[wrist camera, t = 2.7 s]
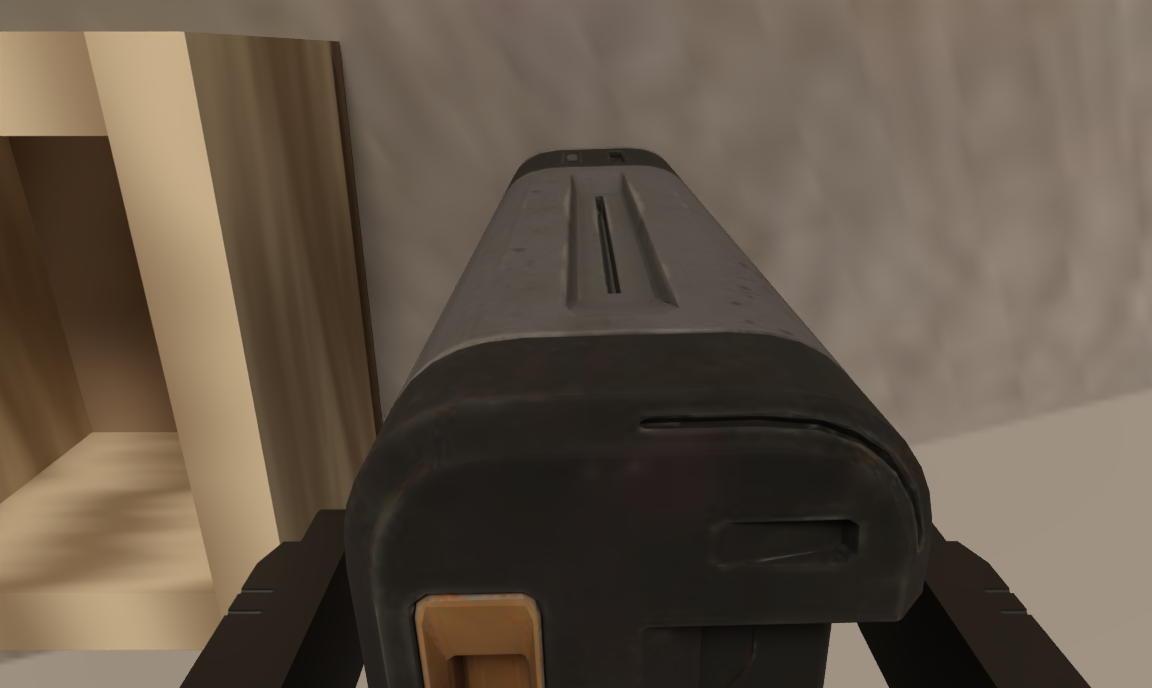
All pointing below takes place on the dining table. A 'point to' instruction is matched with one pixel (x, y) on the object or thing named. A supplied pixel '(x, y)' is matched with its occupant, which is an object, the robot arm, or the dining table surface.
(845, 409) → the electronic device
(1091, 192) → the dining table surface
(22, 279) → the walled box
